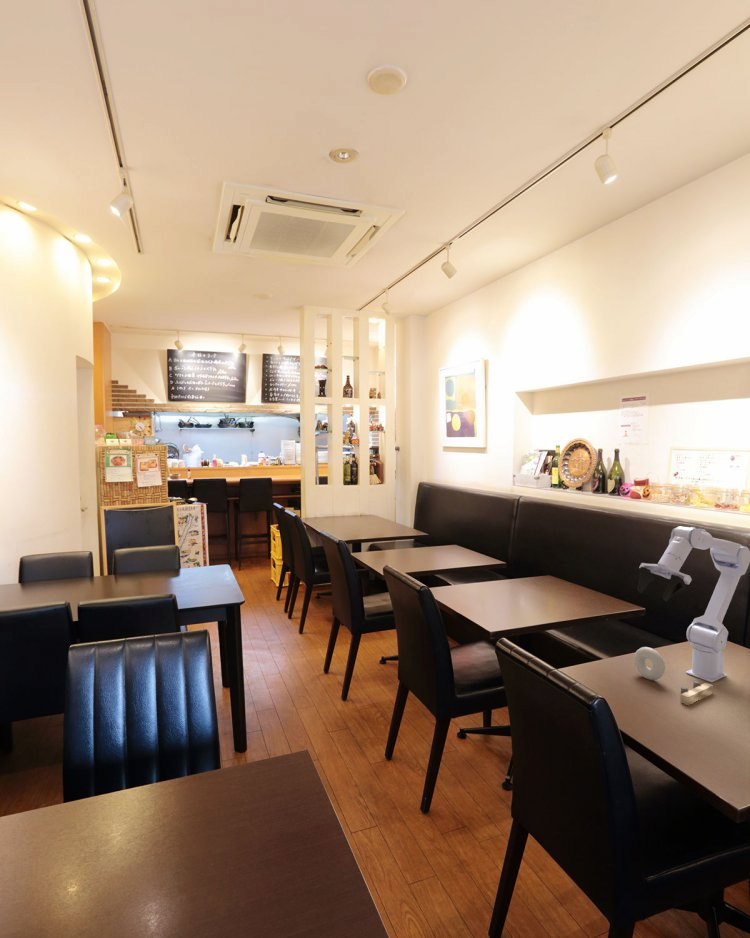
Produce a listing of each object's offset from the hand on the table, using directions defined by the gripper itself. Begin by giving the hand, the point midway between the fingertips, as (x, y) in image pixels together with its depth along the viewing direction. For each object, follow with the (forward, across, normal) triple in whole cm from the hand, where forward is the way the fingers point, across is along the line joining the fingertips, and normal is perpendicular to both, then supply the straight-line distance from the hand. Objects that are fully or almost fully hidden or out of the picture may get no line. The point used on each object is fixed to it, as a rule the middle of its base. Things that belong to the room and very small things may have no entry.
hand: (651, 595), depth 153 cm
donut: (+15, -4, +29) cm, 32 cm away
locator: (+14, +9, +28) cm, 33 cm away
